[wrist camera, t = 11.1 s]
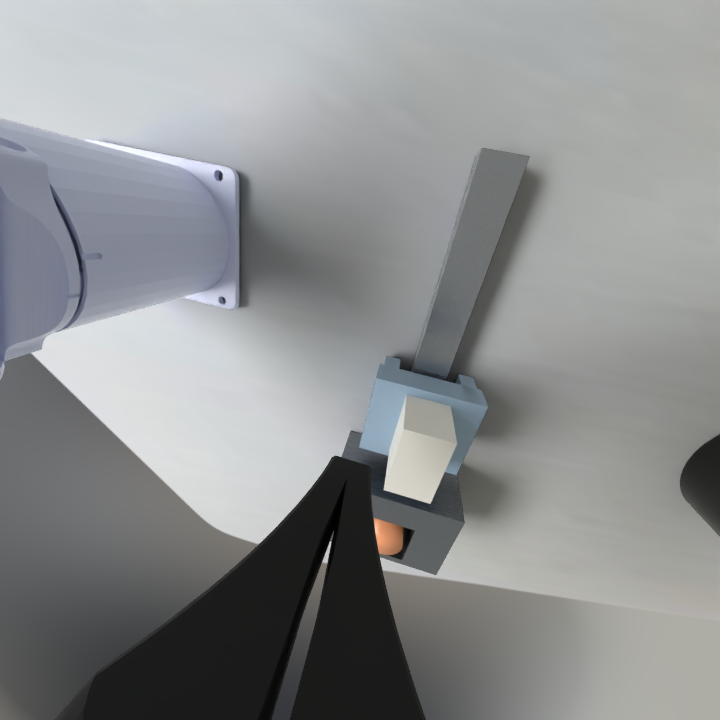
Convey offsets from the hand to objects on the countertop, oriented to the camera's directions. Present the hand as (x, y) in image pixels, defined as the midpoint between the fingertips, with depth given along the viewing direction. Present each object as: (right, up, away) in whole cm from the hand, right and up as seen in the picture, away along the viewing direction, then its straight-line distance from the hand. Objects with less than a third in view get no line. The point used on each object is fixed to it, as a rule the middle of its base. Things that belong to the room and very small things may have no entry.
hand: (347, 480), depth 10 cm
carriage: (+4, +2, +9) cm, 10 cm away
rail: (+5, +6, +7) cm, 11 cm away
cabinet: (+3, -5, +12) cm, 14 cm away
